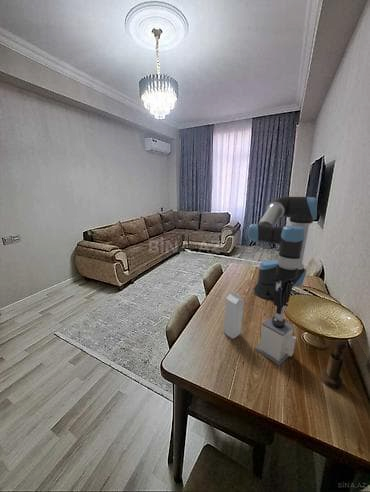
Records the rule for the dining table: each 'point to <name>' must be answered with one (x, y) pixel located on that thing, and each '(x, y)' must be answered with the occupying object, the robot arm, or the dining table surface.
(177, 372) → the dining table surface
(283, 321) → the dark gray domed cylinder
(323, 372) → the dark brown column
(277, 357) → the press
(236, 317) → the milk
